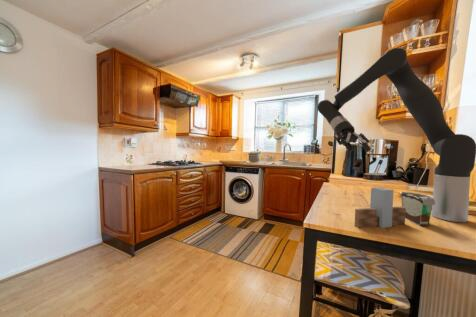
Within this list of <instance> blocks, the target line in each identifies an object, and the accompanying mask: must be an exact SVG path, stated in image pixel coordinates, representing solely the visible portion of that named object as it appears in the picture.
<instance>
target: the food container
mask: <svg viewBox="0 0 476 317" xmlns="http://www.w3.org/2000/svg"><path fill="white" fill-rule="evenodd" d="M400 197H401V206H402V207H405V208H406V211H405V220H407V221H409V222H411V223H413V224H415V225H417V226H419V227H428V226H429V225H430V220H431V216H432V205H435V200H434V199H433V196H431V195H427V194H421V193H417V192H408V191H401V193H400Z"/></svg>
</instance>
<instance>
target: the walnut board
mask: <svg viewBox="0 0 476 317" xmlns="http://www.w3.org/2000/svg"><path fill="white" fill-rule="evenodd" d="M376 210H377V209H374V208H370V207H367V208H366V207H365V208H355V210H354V226H355V227H357V228H367V227H379V217H377V216H376ZM405 211H406V208H405V207H402V205H401V206H393V210H392V225H404V224H405V223H406V219H405Z"/></svg>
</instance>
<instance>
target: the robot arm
mask: <svg viewBox="0 0 476 317" xmlns="http://www.w3.org/2000/svg"><path fill="white" fill-rule="evenodd" d="M383 76H386V78H387V79H389V81H390V82H391V83H392V84H393V85H394V87H395V89H396V90H397V93H398V96H399V98H400V100H401V101H402V103H403V105H404V106H405V108H406V110H408V112H409V114H410V115H411V116H412V118H413V119H414V121H415V122H416V124H418V125H419V126H418V127H420V128H421V130H422V131H423V133H424V134H425V136H426V138H427V141H428V142H429V145H430V146H431V148H432V151H433V152H434V153H435V154H436V155H438V156H439V158H438V159H439V160H438V164H437V166H436V167H435V168H434V171H433V172H434V174H433V175H434V176H433V188H432V189H433V192H432V197H433V199H434V200H435V205H432V210H431V216H432V217H434V218H437V219H440V220H444V221H448V222H455V223H468V221H469V205H470V184H471V174H472V172H473V171H474V168H475V164H476V141H475V140H474V138H473V137H472V136H469V135H467V134H463V133H461V134H459V133H455V132H454V130H452V129H451V128H450V126H449V125H448V123H447V122H446V119H445V116H444V114H445V113H444V111H443V107H442V103H441V101H440V99H439V98H438V96H437V95H436V94H435V93H434V91H433V90H432V89H431V87H429V86H428V85H427V84H426V83H425V82H424V80H422V79H420V78H419V77H418V76H417V75H416V74H415V72H414V71H413V69H412V66H410V63H409V61H408V54H407V51H406V50H405V49H404V48H401V47H393V48H391V49H388V50H387V51H386V52H384V54H382V55H381V56H380V57H379V58H378V59H377V60H375V62H374V63H373V64H371V66H369V68H367V69H366V70H365V71H364V72H363V73H361V74H360V75H359V76H358V77H356V78H355V79H354V80H353V81H351V82H350V83H348V84H347V85H346V86H344V87H343V88H341V89H340V90H339V91H337V92H336V93H335V94H334V101H333V102H331V101H330V100H329V99H321V100H320V101H319V102H318V103H317V108H316V109H317V111H318V112H319V113H320V114H321V115H322V116H323V117H324V118H325V120H326V121H327V123H328V124H329V125H330V127H331V129H332V130H333V132H334V133H335V134H334V136H333V137H334V139H335V141H336V142H337V144H338V145H340V146H343V147H345V148H346V149H347V150H348V152H349V153H350V152H353V151H354V146H353V145H352V144H351V143H354V144H356V145H359V146H361V148H362V149H363V150H364V151H365V152H366V153H369V152H370V151H371V150H372V148H371V147H370V145H369V143H370V141H371V140H369V139H368V138H367V137H366V135H365V134H364V133H362V132H360V133H359V134H358V133H356V132H355V127H354V125H352V123H351V122H350V121H349V120H348V118H346V117H344V115H343V114H342V113H341V112H340V111H339V110H341V109H342V107H343V106H344V105H346V104H347V103H348V102H349V101H351V100H353V99H354V98H355V97H357V96H358V95H360V94H361V93H362V92H363V91H364V90H365V89H367V88H368V87H369V86H370V85H371V84H373V83H374V82H375V81H377V80H378V79H380V78H381V77H383Z"/></svg>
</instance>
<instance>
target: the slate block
mask: <svg viewBox="0 0 476 317" xmlns="http://www.w3.org/2000/svg"><path fill="white" fill-rule="evenodd" d="M394 192H395V191H394V189H390V188H385V187H381V186H380V187H379V186H378V187H370V205H369V208H374V209H377V210H376V216H377V217H379V226H378V227H379V228H382V229H385V228H392V210H393V207H394Z"/></svg>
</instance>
